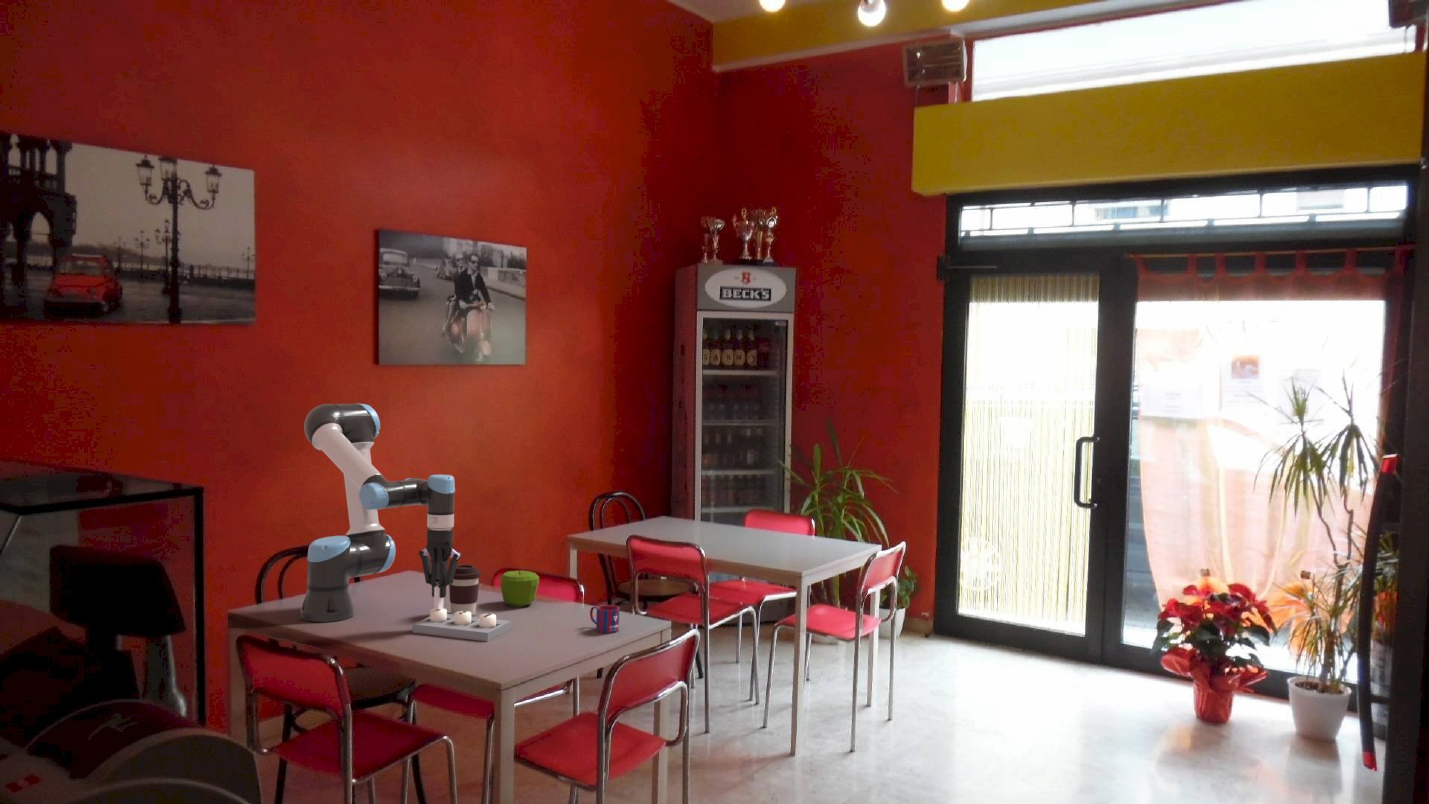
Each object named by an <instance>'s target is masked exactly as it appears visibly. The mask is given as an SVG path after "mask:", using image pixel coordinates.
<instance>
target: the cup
mask: <svg viewBox="0 0 1429 804" xmlns="http://www.w3.org/2000/svg"><path fill="white" fill-rule="evenodd" d="M594 609H596V618H594V615H593V614H594V613H593V612H594ZM589 617H590V620H591V622H592V623H593V624H594V625H595V630H596V632H598V633H600V634H615V633H618V632H619V631H620V630H619V629H620V607H619V606H618V605H613V604H602V605H599V606H591V608H590V611H589Z"/></svg>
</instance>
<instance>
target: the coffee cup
mask: <svg viewBox="0 0 1429 804" xmlns="http://www.w3.org/2000/svg"><path fill="white" fill-rule="evenodd" d="M481 574H482V571H481V570H479V569H478V568H477V566H476V565H473V564H457V567H456V571H455V575H454V579H453V583H452V584H450V585H448V588H449V602H450V614H454V613H455V612H458V611H469V612H471V616H472V617H474V615H476V611H477V610H476V609H477V602H478V598H479V597H478V596H479V587H480V582H479V578H481V576H482V575H481Z"/></svg>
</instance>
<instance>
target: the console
mask: <svg viewBox="0 0 1429 804" xmlns="http://www.w3.org/2000/svg"><path fill="white" fill-rule="evenodd" d="M510 630H512V620H507V619H506V620H505V619H497V618H496V627H494V628H492V629H489V628H480V627H479V616H471V624H469V625H467V626H463V625H454V614H451V613H447V621H445V622H443V623H437V622H430V616H428V617H426V618H424V619H422V620H420V621H417V622H415V623H413V624H412V633H414V634H421V635H422V634H424V635H430V636H431V635H432V636H440V637H447V638H448V637H449V638H450V637H451V638H455V639H464V640H465V639H467V640H473V641H481V642H489V641H491V640H493V639H495V638H497V637H499V636H501V635H503V634H505V633H507V632H508V631H510Z"/></svg>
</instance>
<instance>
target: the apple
mask: <svg viewBox="0 0 1429 804" xmlns="http://www.w3.org/2000/svg"><path fill="white" fill-rule="evenodd" d="M536 573H537V572H533V571H529V570H528V571H527V570H520V569H519V570H510V571H506V572H504V573H503V574H502V575H501V576H500V588H501V596H502V601H503V602H505V603H506V605H507V606H509V607H512V606H513V607H514V608H520V607H521V608H522V607H526V606H528V605H530V604H531V603H533V602H535V601H536V597H537V592H538V587H539V584H540V576H539V575H538V574H536Z"/></svg>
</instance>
